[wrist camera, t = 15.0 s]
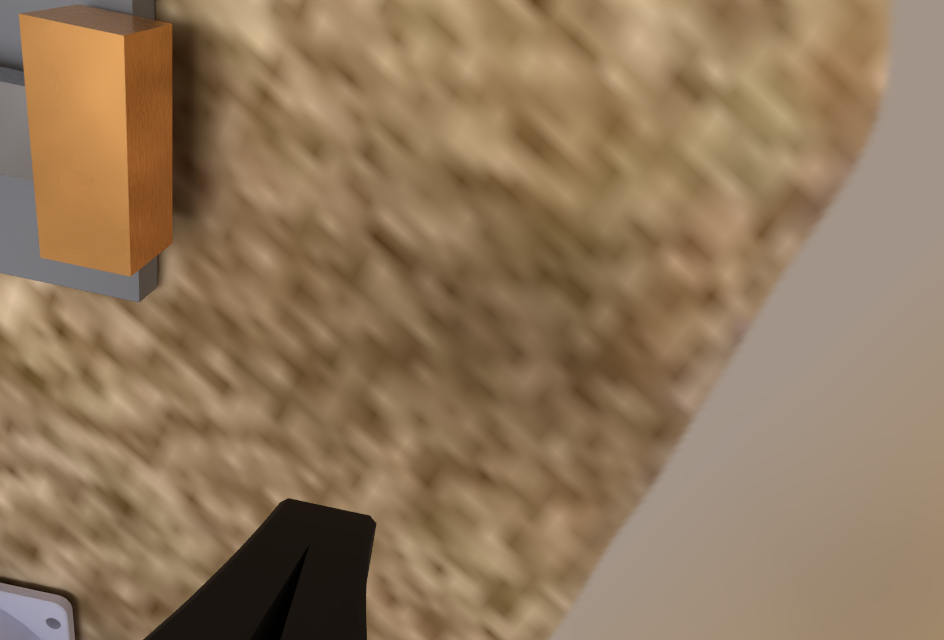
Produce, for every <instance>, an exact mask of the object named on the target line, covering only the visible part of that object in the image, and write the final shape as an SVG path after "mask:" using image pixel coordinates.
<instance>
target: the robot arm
mask: <svg viewBox="0 0 944 640" xmlns="http://www.w3.org/2000/svg"><path fill="white" fill-rule="evenodd" d="M375 528H376V523H375V521H374V520H373V519H372V518H371V516H369V515H364V514H359V513H355V512H350V511H345V510H341V509H336V508H331V507H327V506H322V505H317V504H313V503H308V502H303V501H299V500H294V499H289V498H288V499H286V500H284V501H282V502H280V503H279V505H278V506H277V507H276V508H275V509H274V511H273V512H272V513H271V514H270V515H269V517H268V518H267V519H266V520H265V521H264V522H263V524H262V525H261V526H260V527H259V528H258V529H257V530H256V531H255V533H254V534H253V535H252V536H251V537H250V538H249V539H248V540H247V541H246V542H245V543H244V544H243V546H242V547H241V548H240V549H239V550H238V551H237V552H236V553H235V554H234V555H233V556H232V557H231V558H230V559H229V560H228V561H227V562H226V563H225V564H224V565H223V566H222V567H221V568H220V569H219V570H218V571H217V572H216V573H215V574H214V575H213V576H212V577H211V578H210V579H209V580H208V581H207V582H206V583H205V584H204V585H203V586H202V587H201V588H200V589H199V590H198V591H197V592H196V593H195V594H194V595H192V596H191V597H190V598H189V599H188V600H187V601H186V602H185V603H184V604H183V605H182V606H181V607H180V608H179V609H178V610H176V611H175V612H174V613H173V614H172V615H171V616H170V617H168V618H167V619H166V620H165V621H164V622H163V623H162V624H161V625H159V626H158V627H157V628H156V629H155V630H154V631H153V632H151V633H150V634H149V635H148V636H147V637H146V638H145V639H143V640H367V628H366V585H367V577H368V571H369V565H370V559H371V553H372V547H373V541H374V535H375ZM0 640H75V633H74V622H73V610H72V606H71V603H70V602H69V601H68V600H67V599H66V598H64V597H62V596H59V595H56V594H51V593H46V592H42V591H37V590H32V589H28V588H23V587H18V586H14V585H9V584H4V583H0Z"/></svg>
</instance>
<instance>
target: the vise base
mask: <svg viewBox="0 0 944 640" xmlns="http://www.w3.org/2000/svg"><path fill="white" fill-rule="evenodd" d="M77 4H80V5H85V6H89V7H94V8H99V9H104V10H108V11H113V12H118V13H123V14H128V15H132V16H137V17H142V18H147V19H151V20H155V1H154V0H0V67H5V68H9V69H14V70H19V71H23V72H24V68H23V56H22V45H21V34H20V23H19V14H20V13H26V12H32V11H39V10H45V9H52V8H58V7H64V6H71V5H77ZM0 273H3V274H8V275H12V276H17V277H22V278H27V279H31V280H36V281H41V282H45V283H50V284H55V285H60V286H64V287H69V288H74V289H78V290H83V291H88V292H92V293H97V294H102V295H107V296H111V297H116V298H121V299H125V300H130V301H135V302H140V301H142V300H143V299H144V298H145V297H146V296H147V295H148V294H149V293H151V292H152V291H153V290H154V289H155V288H156V287H157V286H158V276H157V256H156V257H155V258H153V259H152V260H151V261H150V262H148V263H147V264H146V265H145V266H143V267H142V268H141V269H140V270H139V271H137V272H136V273H135V274H134V275H132V276H131V277H130V276H125V275H120V274H116V273H111V272H106V271H101V270H97V269H92V268H87V267H83V266H78V265H73V264H68V263H64V262H59V261H54V260H50V259H45V258H40V247H39V236H38V225H37V213H36V202H35V191H34V181H29V180H24V179H19V178H15V177H10V176H5V175H0Z"/></svg>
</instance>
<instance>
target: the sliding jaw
mask: <svg viewBox="0 0 944 640" xmlns="http://www.w3.org/2000/svg"><path fill="white" fill-rule="evenodd" d="M19 23H20V34H21V45H22V56H23V68H24V72H23V71H19V70H14V69H9V68H5V67H0V175H5V176H10V177H15V178H19V179H24V180H29V181H34V191H35V202H36V213H37V225H38V236H39V247H40V258H45V259H50V260H54V261H59V262H64V263H68V264H73V265H78V266H83V267H87V268H92V269H97V270H101V271H106V272H111V273H116V274H120V275H125V276H130V277H131V276H132V275H134V274H135V273H136V272H137V271H139V270H140V269H141V268H142V267H143V266H145V265H146V264H147V263H148V262H150V261H151V260H152V259H153V258H155V257H156V256H157V255H158V254H159V253H161V252H162V251H163V250H164V249H166V248H167V247H168V246H169V245H171V244H172V24H170V23H166V22H161V21H156V20H151V19H147V18H142V17H137V16H132V15H128V14H123V13H118V12H113V11H108V10H104V9H99V8H94V7H89V6H85V5H80V4H77V5H71V6H64V7H58V8H52V9H45V10H39V11H32V12H26V13H20V14H19Z"/></svg>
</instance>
